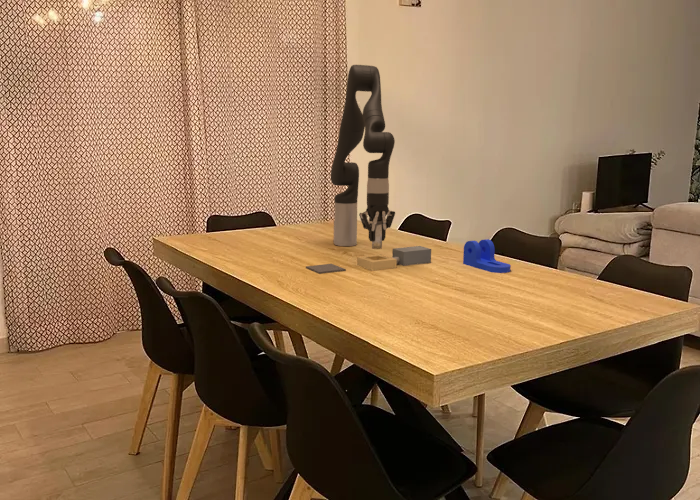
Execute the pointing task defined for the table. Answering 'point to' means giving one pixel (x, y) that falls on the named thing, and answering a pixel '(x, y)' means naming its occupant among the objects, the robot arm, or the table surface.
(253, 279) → the table surface
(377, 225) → the square capped bottle
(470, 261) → the bracket
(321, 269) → the mat
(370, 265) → the tray with grey block
